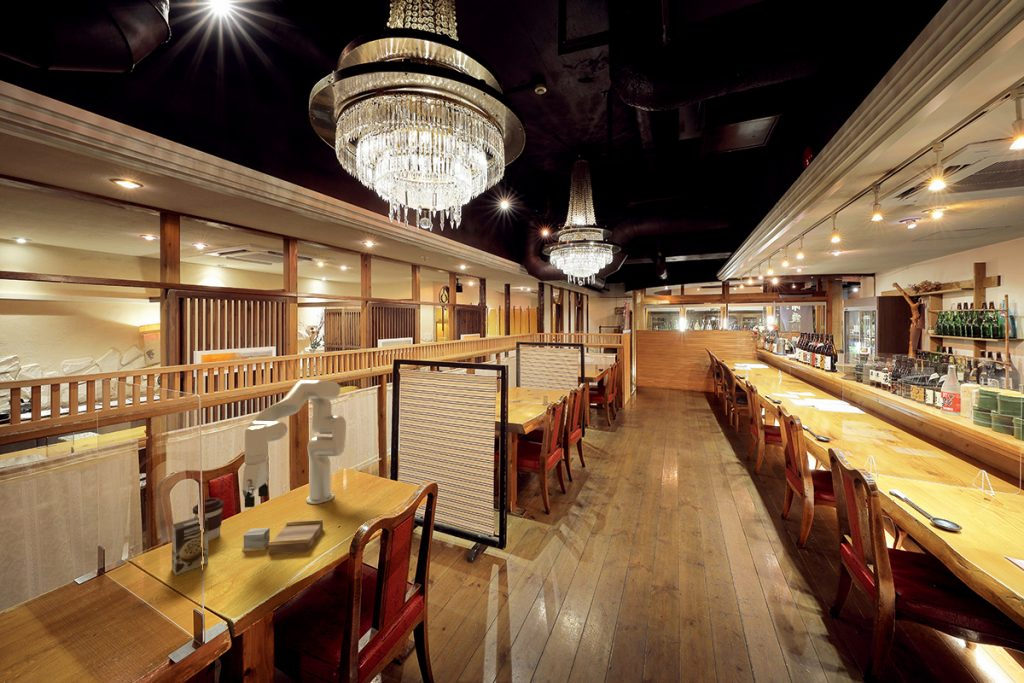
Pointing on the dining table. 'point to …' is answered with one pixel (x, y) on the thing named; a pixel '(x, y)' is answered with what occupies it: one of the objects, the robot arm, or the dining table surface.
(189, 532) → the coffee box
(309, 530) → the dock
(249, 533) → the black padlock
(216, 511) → the coffee cup
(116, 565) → the dining table surface
